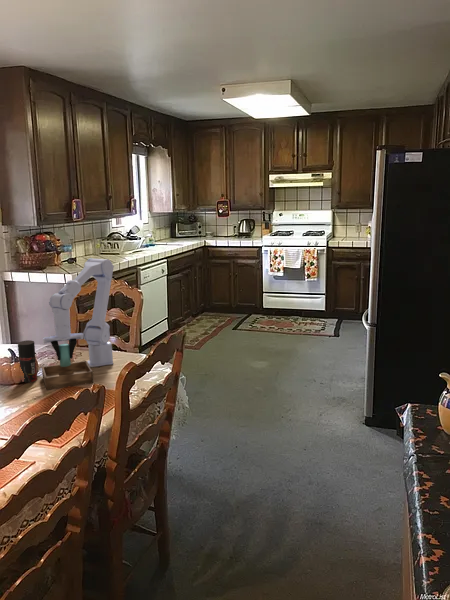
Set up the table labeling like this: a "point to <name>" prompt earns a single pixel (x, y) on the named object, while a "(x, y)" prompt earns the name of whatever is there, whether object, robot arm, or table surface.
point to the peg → (64, 355)
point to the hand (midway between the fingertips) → (65, 358)
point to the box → (67, 375)
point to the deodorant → (27, 360)
